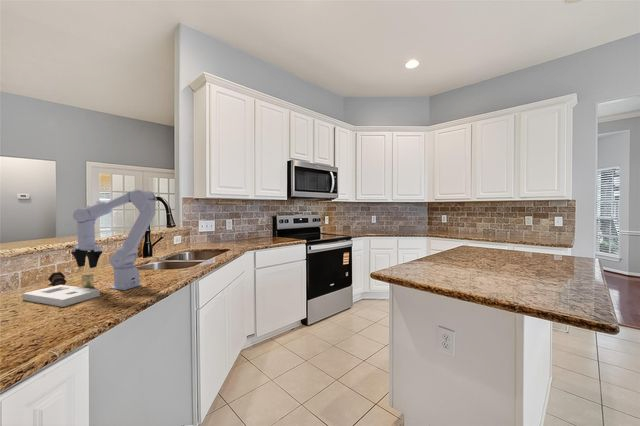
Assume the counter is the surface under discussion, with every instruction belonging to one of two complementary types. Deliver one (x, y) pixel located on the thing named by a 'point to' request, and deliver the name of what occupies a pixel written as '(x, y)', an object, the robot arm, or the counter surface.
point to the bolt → (57, 279)
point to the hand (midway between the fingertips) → (87, 267)
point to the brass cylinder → (88, 280)
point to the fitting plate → (61, 295)
